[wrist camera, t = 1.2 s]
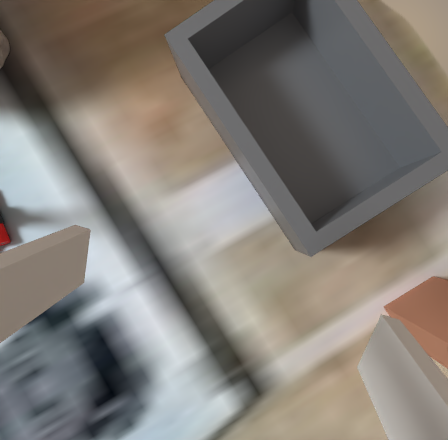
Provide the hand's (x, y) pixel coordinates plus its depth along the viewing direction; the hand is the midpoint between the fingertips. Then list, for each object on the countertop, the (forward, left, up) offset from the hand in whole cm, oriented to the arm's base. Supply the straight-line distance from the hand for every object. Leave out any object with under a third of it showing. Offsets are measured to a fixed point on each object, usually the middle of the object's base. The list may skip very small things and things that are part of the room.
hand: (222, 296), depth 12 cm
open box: (+8, -13, -18) cm, 24 cm away
